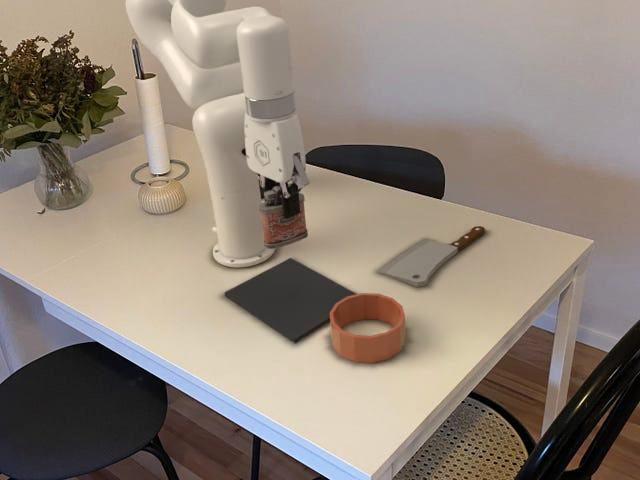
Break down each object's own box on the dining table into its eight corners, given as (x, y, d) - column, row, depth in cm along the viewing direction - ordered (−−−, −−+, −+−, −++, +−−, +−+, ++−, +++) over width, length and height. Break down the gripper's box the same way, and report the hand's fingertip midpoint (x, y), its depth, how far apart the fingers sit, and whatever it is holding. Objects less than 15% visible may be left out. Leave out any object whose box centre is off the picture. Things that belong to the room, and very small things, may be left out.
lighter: (269, 251, 111) (262, 197, 106) (260, 243, 114) (253, 190, 108) (311, 237, 114) (306, 184, 108) (302, 229, 116) (297, 176, 111)
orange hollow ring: (316, 340, 110) (314, 316, 107) (368, 308, 116) (367, 284, 113) (367, 373, 102) (366, 348, 99) (420, 337, 108) (420, 312, 105)
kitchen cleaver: (453, 217, 138) (495, 230, 132) (453, 222, 139) (495, 234, 132) (376, 268, 125) (418, 285, 119) (376, 273, 126) (419, 290, 119)
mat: (224, 296, 123) (224, 292, 122) (290, 261, 131) (290, 257, 131) (294, 343, 110) (294, 339, 109) (363, 301, 118) (363, 297, 117)
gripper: (219, 100, 104) (235, 204, 114) (287, 123, 93) (298, 236, 103) (256, 87, 108) (269, 189, 118) (326, 108, 97) (333, 218, 107)
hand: (282, 210), depth 111 cm, fingers closed on lighter, 3 cm apart
